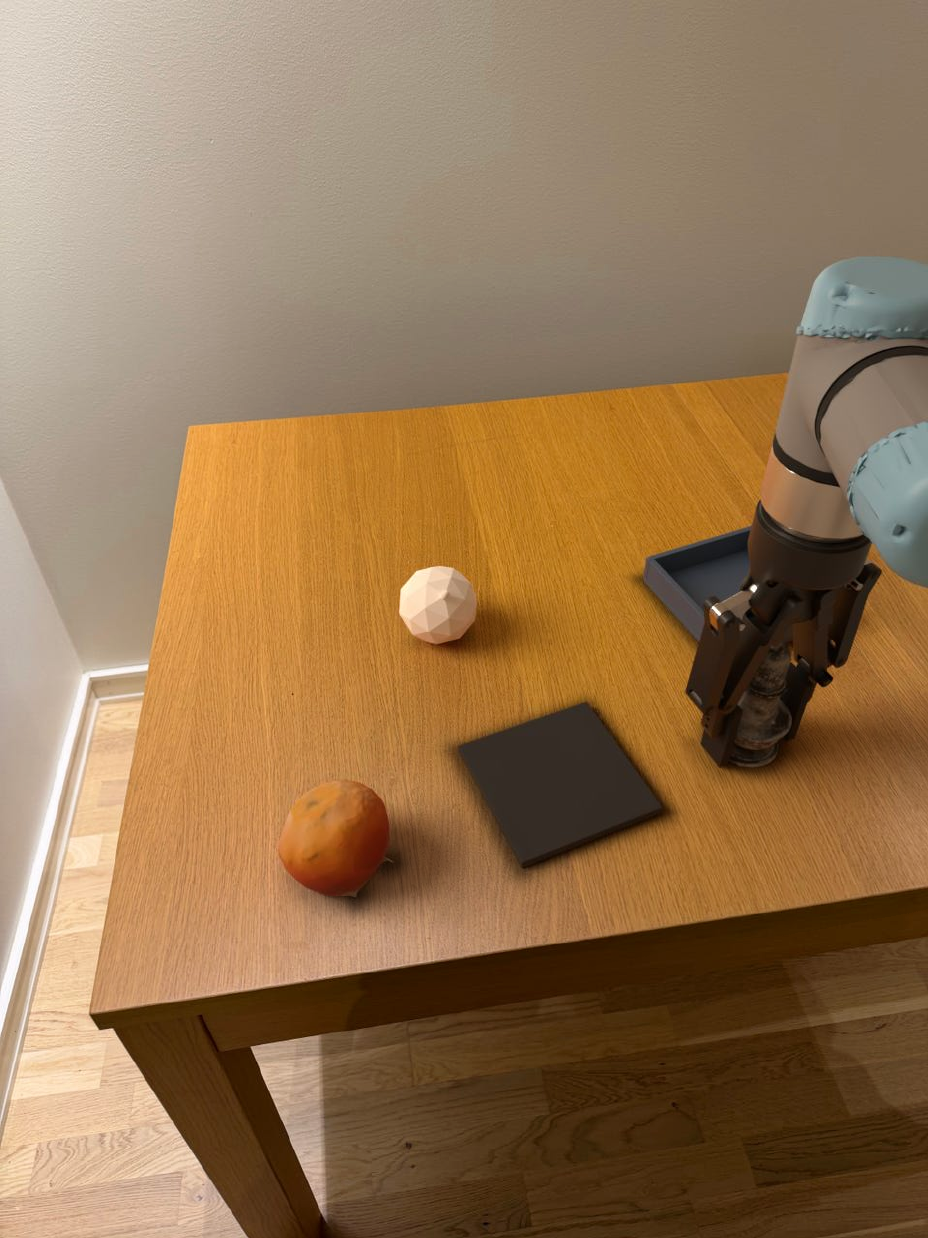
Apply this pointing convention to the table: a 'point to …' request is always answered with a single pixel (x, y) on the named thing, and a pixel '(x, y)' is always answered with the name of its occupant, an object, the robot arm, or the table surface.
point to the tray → (700, 576)
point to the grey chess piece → (763, 711)
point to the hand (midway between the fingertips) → (747, 741)
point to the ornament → (438, 604)
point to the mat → (557, 783)
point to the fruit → (335, 838)
